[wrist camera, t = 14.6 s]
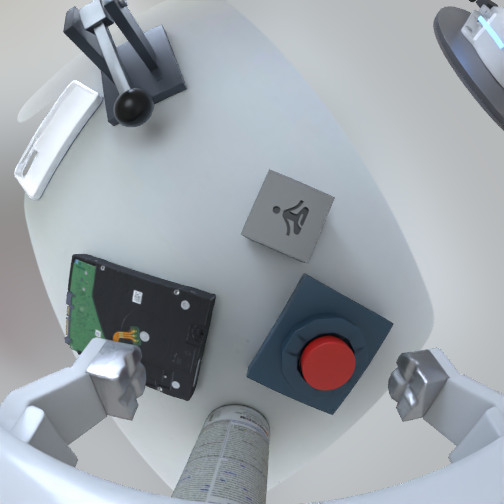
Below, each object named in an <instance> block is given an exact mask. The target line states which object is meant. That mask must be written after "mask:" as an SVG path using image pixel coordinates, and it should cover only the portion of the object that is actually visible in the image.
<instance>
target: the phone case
mask: <svg viewBox="0 0 504 504" xmlns="http://www.w3.org/2000/svg"><path fill="white" fill-rule="evenodd" d="M102 100H103V97H102V96H101V95H99V94H98V93H97V92H95V91H93V90H92V89H90V88H88V87H86V86H85V85H83V84H81V83H79V82H78V81H76V80H74V81H72V82H71V83H70V84H69V85H68V87H67V88H66V89H65V90H64V92H63V93H62V94H61V96H60V97H59V98H58V100H57V101H56V103H55V104H54V106H53V107H52V108H51V110H50V111H49V113H48V114H47V116H46V117H45V119H44V120H43V122H42V123H41V125H40V126H39V128H38V130H37V131H36V133H35V134H34V136H33V138H32V139H31V141H30V143H29V145H28V146H27V148H26V150H25V152H24V154H23V156H22V157H21V159H20V161H19V163H18V165H17V167H16V169H15V173H14V176H15V177H16V179H17V180H18V182H19V183H20V185H21V186H22V187H23V189H24V190H25V192H26V193H27V195H28V196H29V197H30V199H34V200H38V199H39V198H40V197H41V195H42V193H43V192H44V190H45V188H46V186H47V184H48V182H49V180H50V179H51V177H52V175H53V173H54V171H55V170H56V168H57V166H58V165H59V163H60V161H61V160H62V158H63V156H64V155H65V153H66V152H67V150H68V148H69V147H70V145H71V144H72V142H73V141H74V139H75V138H76V136H77V135H78V133H79V132H80V131H81V129H82V128H83V126H84V125H85V124H86V122H87V121H88V119H89V118H90V117H91V115H92V114H93V113H94V111H95V110H96V109H97V108H98V106H99V105H100V104H101V102H102ZM36 137H38V138H37V139H36V141H35V143H34V145H33V146H32V148H31V150H30V151H29V153H28V155H27V157H26V159H25V161H24V163H22V161H23V159H24V157H25V156H26V154H27V152H28V150H29V148H30V147H31V145H32V143H33V141H34V140H35V138H36ZM34 150H36V151H37V152H38V154H37V156H36V158H35V159H34V161H33V163H32V165H31V167H30V169H29V171H28V172H27V174H26V176H24V175H23V174H22V173H23V171H24V169H25V167H26V165H27V163H28V161H29V159H30V158H31V156H32V154H33V152H34Z"/></svg>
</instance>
